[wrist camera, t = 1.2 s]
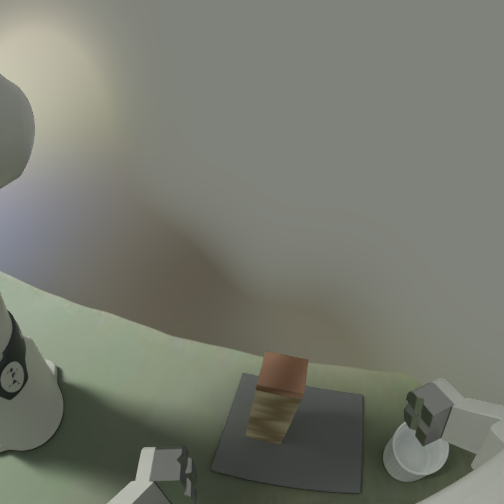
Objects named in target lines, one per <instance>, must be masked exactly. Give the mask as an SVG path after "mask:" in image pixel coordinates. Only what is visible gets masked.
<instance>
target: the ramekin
mask: <svg viewBox="0 0 504 504" xmlns="http://www.w3.org/2000/svg"><path fill="white" fill-rule="evenodd" d="M415 433H416V431H415V430H412V429H410V428H409V427H408V426H407V424H406V422H404V423H402V424H401V425H400V426H399V427H398V428H397V430H396V431H395V433H394V435H393V437H392V438H391V439H390V440H389V442H388V443H387V445H386V447H385V449H384V453H383V463H384V466H385V468H386V470H387V472H388V473H389V474H390V475H391V476H392V477H393V478H395V479H397V480H399V481H403V482H412V481H416V480H419V479H421V478H423V477H425V476H427V475H430V474H433V473H435V472H436V471H438V470H439V469H440V468H441V467H442V466H443V465H444V464H445V462H446V460H447V458H448V454H449V443H448V442H446V441H444V440H442V439H441V438H440V439H438V440H436V441H434V442H432V443H430V444H428V445H426V446H424V447H423V446H422V445H421V443H420V442H419V441H418V439H417V438H416V437H415Z"/></svg>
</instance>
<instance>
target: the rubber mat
mask: <svg viewBox="0 0 504 504" xmlns="http://www.w3.org/2000/svg"><path fill="white" fill-rule="evenodd" d="M258 378H259V376H255V375H250V374H246V373H243V375H242V378H241V381H240V384H239V387H238V390H237V393H236V396H235V399H234V402H233V405H232V408H231V411H230V414H229V417H228V420H227V423H226V425H225V428H224V431H223V434H222V437H221V440H220V443H219V446H218V449H217V452H216V454H215V457H214V460H213V463H212V466H211V469H210V471H214V472H218V473H221V474H225V475H229V476H233V477H237V478H241V479H246V480H250V481H255V482H260V483H265V484H271V485H276V486H282V487H289V488H296V489H303V490H312V491H321V492H333V493H350V494H359V493H360V487H361V470H362V443H363V395H360V394H353V393H345V392H339V391H332V390H326V389H320V388H314V387H308V386H305V389H304V395H303V397H302V399H301V402H300V404H299V406H298V409H297V411H296V413H295V415H294V417H293V420H292V422H291V424H290V426H289V428H288V430H287V433H286V435H285V437H284V439H283V441H282V443H281V444H276V443H271V442H266V441H262V440H257V439H253V438H248V437H245V435H246V431H247V426H248V422H249V418H250V413H251V409H252V404H253V399H254V395H255V390H256V386H257V382H258Z"/></svg>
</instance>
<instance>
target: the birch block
mask: <svg viewBox="0 0 504 504" xmlns="http://www.w3.org/2000/svg"><path fill="white" fill-rule="evenodd" d="M307 367H308V360H307V359H302V358H297V357H292V356H287V355H282V354H277V353H273V352H268V351H266V352H265V356H264V360H263V363H262V367H261V371H260V374H259V378H258V382H257V386H256V390H255V395H254V399H253V404H252V409H251V413H250V418H249V422H248V426H247V431H246V435H245V437H248V438H253V439H257V440H262V441H266V442H271V443H276V444H281V443H282V441H283V439H284V437H285V435H286V433H287V430H288V428H289V426H290V424H291V422H292V420H293V417H294V415H295V413H296V411H297V409H298V406H299V404H300V402H301V399H302V397H303V395H304V389H305V382H306V374H307Z"/></svg>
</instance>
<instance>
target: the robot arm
mask: <svg viewBox="0 0 504 504" xmlns="http://www.w3.org/2000/svg"><path fill="white" fill-rule="evenodd" d="M34 135H35V124H34V116H33V112H32V108H31V105H30V103H29V101H28V99H27V97H26V96H25V95H24V93H23V92H22V90H21V89H20V88H19V87H18V86H17V85H15V84H14V83H12V82H11V81H9V80H7V79H6V78H5V77H3V76H2V75H1V74H0V189H1V188H3V187H4V186H6V185H7V184H9V183H11V182H12V181H14V180H15V179H17V178H19V177H20V176H21V174H22V172H23V171H24V169H25V167H26V165H27V163H28V160H29V158H30V155H31V151H32V148H33V143H34ZM406 400H407V401H408V402H409V403H408V404H407V405H406V407H405V408H404V419H405V422H406V424H407V426H408V427H409V428H410V429H412V430H415V431H416V433H415V437H416V438H417V439H418V441H419V442H420V443H421V445H422V446H423V447H424V446H426V445H428V444H430V443H432V442H434V441H436V440H438V439H440V438H441V439H442V440H444V441H446V442H449V443H451V444H453V445H456V446H458V447H460V448H463V449H465V450H467V451H470V452H472V453H475V454H477V455H476V456H475V458H474V460H473V462H472V464H471V467H472V469H473V471H472V472H470V473H469V474H467V475H466V476H464V477H462V478H461V479H459V480H458V481H456V482H454V483H453V484H451V485H449V486H448V487H446V488H444V489H442V490H441V491H439V492H437V493H435V494H433V495H432V496H430V497H428V498H426V499H424V500H422V501H420V502H418V503H416V504H504V406H503V405H498V404H494V403H489V402H484V401H480V400H475V399H472V398H466V399H465V398H464V397H463V396H462V395H460V393H458V392H457V391H456V390H455V389H454V388H453V387H452V386H451V385H450V384H449V383H448V382H447V381H446V380H445V379H444V378H439V379H437V380H434V381H432V382H430V383H428V384H425V385H423V386H421V387H419V388H417V389H414V390H412V391H410V392H409V393H408V394H407V398H406ZM62 415H63V397H62V394H61V391H60V389H59V386H58V384H57V367H56V365H55V364H54V363H53V362H52V361H49V360H46V359H44V358H43V356H42V355H41V353H40V351H39V350H38V348H37V346H36V345H35V343H34V341H33V340H32V339H31V338H30V337H27V336H25V335H22V333H21V330H20V328H19V326H18V324H17V322H16V321H15V319H14V317H13V315H12V314H11V313H10V312H9V311H8V310H7V308H6V306H5V304H4V301H3V299H2V296H1V293H0V452H3V451H5V450H18V451H24V450H30V449H33V448H36V447H38V446H40V445H42V444H43V443H45V442H46V441H47V440H48V439H50V438H51V436H52V435H53V434H54V433H55V431H56V430H57V428H58V426H59V424H60V422H61V419H62ZM196 482H197V475H196V469H195V465H194V462H193V460H192V459H191V458H189V457H188V451H187V449H186V447H185V446H174V447H144V448H143V449H142V450H141V455H140V459H139V464H138V469H137V474H136V479H135V481H131V482H130V483H129V484H128V485H127V486H126V487H125V488H123V489H122V490H121V491H120V492H119V493H118V494H117V495H116V496H115V497H114V498H113V499H111V500H110V501H109V502H108V503H107V504H196V489H195V488H194V486H193V485H194V484H195V483H196Z"/></svg>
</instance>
